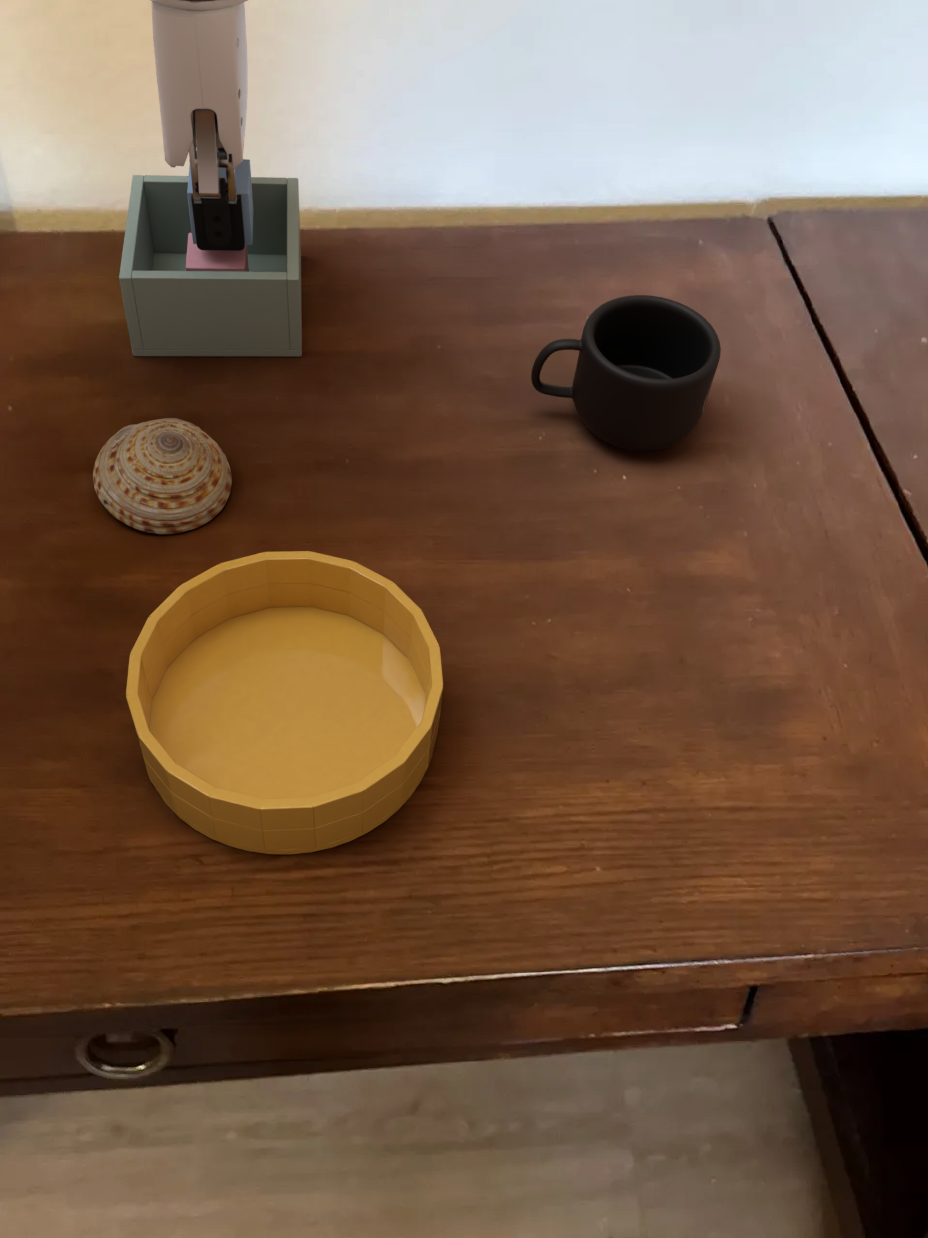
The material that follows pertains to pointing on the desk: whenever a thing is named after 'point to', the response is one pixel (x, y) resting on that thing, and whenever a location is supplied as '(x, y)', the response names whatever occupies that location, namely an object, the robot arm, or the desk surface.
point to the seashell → (162, 476)
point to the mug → (639, 371)
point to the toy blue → (242, 189)
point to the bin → (211, 276)
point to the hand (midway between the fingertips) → (222, 224)
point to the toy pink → (215, 259)
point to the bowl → (286, 701)
